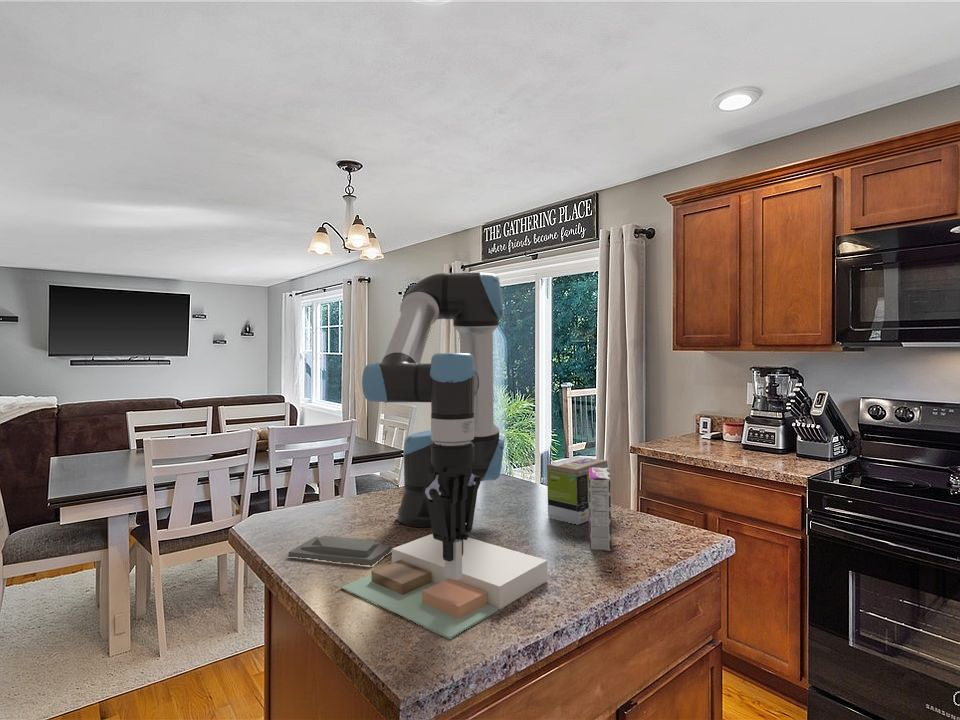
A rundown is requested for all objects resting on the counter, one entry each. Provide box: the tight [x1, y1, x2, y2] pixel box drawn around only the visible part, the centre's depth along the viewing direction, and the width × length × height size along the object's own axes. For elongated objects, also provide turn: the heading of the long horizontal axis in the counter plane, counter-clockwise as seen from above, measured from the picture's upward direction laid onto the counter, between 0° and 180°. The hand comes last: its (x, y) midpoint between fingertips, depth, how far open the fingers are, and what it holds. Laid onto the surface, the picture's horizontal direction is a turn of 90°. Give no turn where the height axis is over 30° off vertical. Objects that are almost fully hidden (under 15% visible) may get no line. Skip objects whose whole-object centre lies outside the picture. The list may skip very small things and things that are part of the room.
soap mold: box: [287, 535, 393, 566], centre depth 117 cm, size 10×20×4 cm, turn 74°
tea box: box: [546, 456, 609, 526], centre depth 144 cm, size 15×10×15 cm, turn 134°
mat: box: [340, 573, 499, 640], centre depth 96 cm, size 28×12×1 cm, turn 50°
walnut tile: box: [371, 560, 431, 595], centre depth 102 cm, size 9×7×2 cm
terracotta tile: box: [422, 578, 487, 619], centre depth 93 cm, size 9×7×2 cm
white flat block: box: [391, 533, 548, 611], centre depth 106 cm, size 28×15×4 cm, turn 50°
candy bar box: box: [588, 467, 612, 552], centre depth 124 cm, size 11×5×16 cm, turn 168°
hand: (453, 576), depth 93 cm, fingers closed
